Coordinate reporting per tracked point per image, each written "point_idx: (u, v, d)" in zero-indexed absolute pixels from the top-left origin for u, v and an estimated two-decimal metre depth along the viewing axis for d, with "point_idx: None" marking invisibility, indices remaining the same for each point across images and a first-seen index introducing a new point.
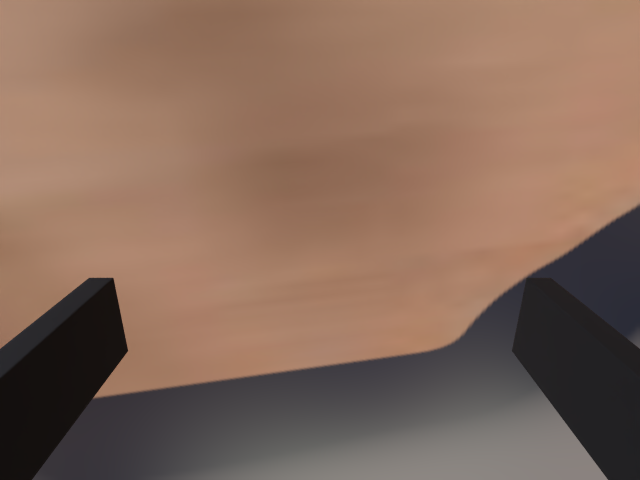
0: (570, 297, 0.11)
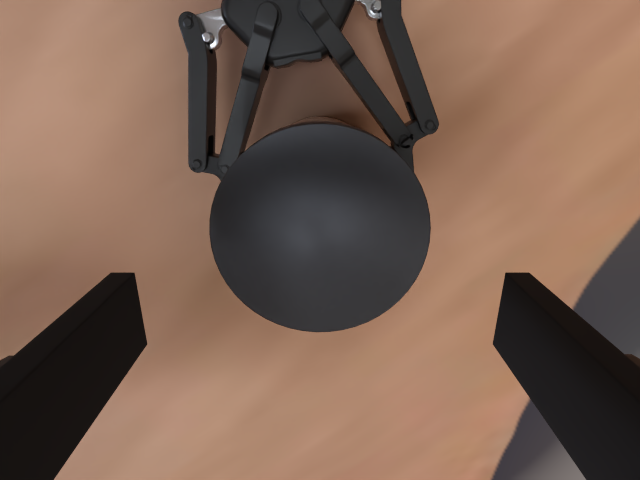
0: (545, 290, 0.11)
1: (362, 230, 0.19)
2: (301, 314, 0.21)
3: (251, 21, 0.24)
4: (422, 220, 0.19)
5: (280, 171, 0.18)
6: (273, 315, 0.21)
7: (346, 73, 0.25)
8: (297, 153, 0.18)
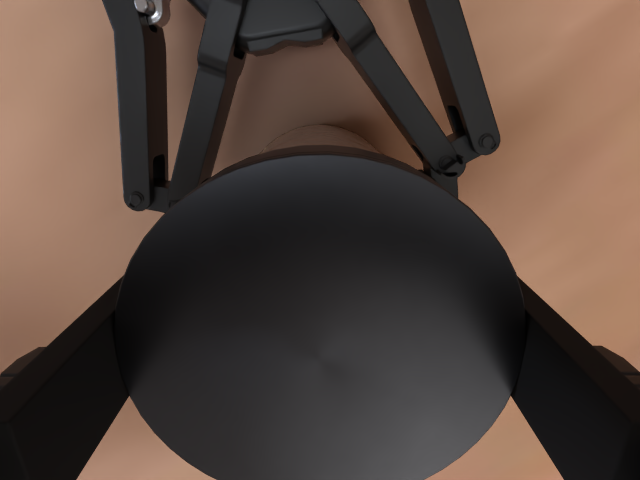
0: (522, 285, 0.12)
1: (398, 348, 0.10)
2: (287, 478, 0.12)
3: None
4: (512, 331, 0.10)
5: (243, 245, 0.09)
6: (239, 479, 0.12)
7: (361, 62, 0.16)
8: (275, 212, 0.09)
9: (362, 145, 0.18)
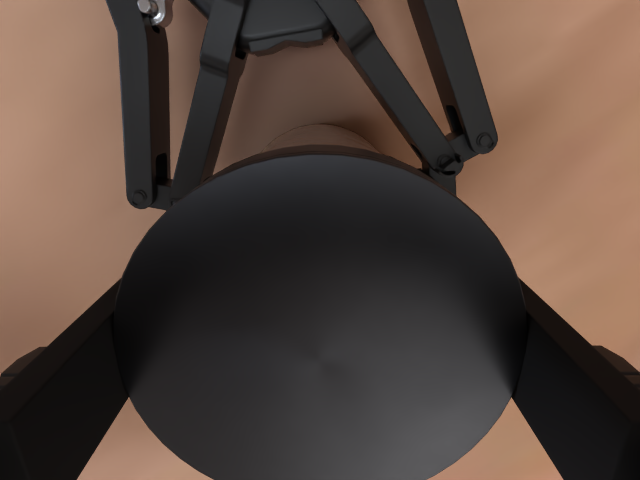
0: (522, 285, 0.12)
1: (298, 292, 0.10)
2: (481, 380, 0.11)
3: None
4: (261, 178, 0.09)
5: (210, 422, 0.11)
6: (481, 422, 0.11)
7: (360, 62, 0.17)
8: (175, 401, 0.11)
9: (362, 144, 0.18)
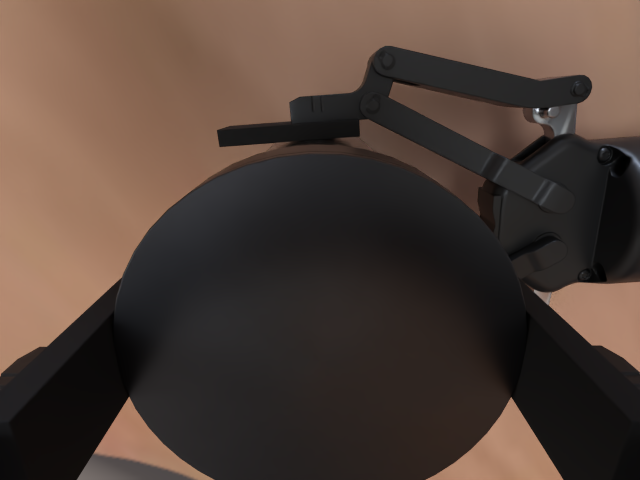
0: (522, 285, 0.12)
1: (298, 292, 0.10)
2: (481, 379, 0.11)
3: (553, 175, 0.19)
4: (261, 178, 0.09)
5: (210, 422, 0.11)
6: (480, 421, 0.11)
7: None
8: (175, 401, 0.11)
9: None
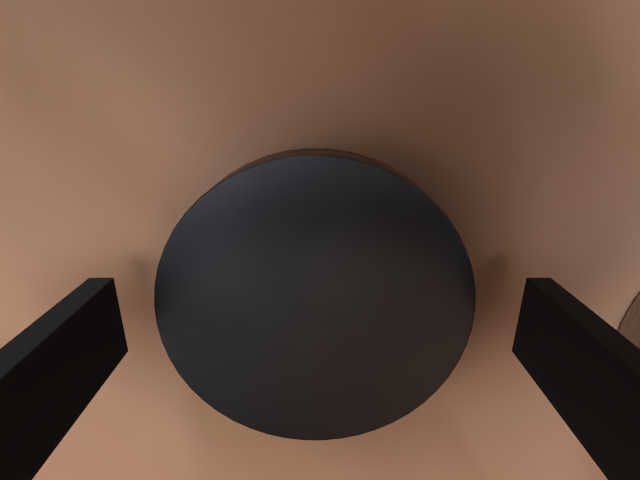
0: (570, 297, 0.11)
1: (298, 261, 0.13)
2: (442, 332, 0.14)
3: None
4: (270, 174, 0.12)
5: (228, 368, 0.14)
6: (443, 367, 0.14)
7: None
8: (201, 351, 0.14)
9: None
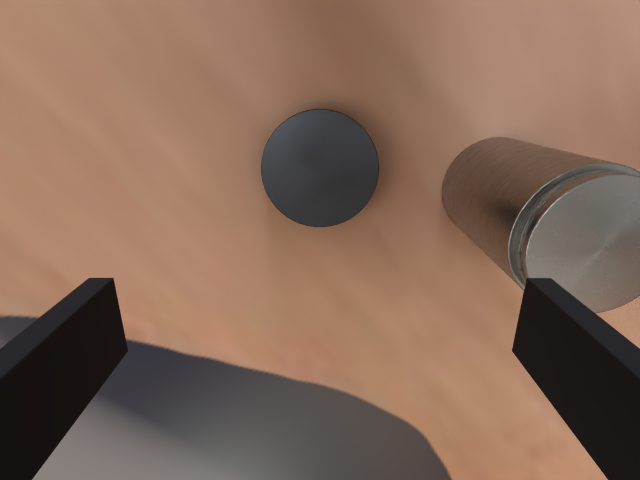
0: (570, 297, 0.11)
1: (314, 149, 0.36)
2: (367, 178, 0.37)
3: None
4: (305, 116, 0.35)
5: (286, 193, 0.37)
6: (368, 193, 0.38)
7: None
8: (277, 185, 0.37)
9: None
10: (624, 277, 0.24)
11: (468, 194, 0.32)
